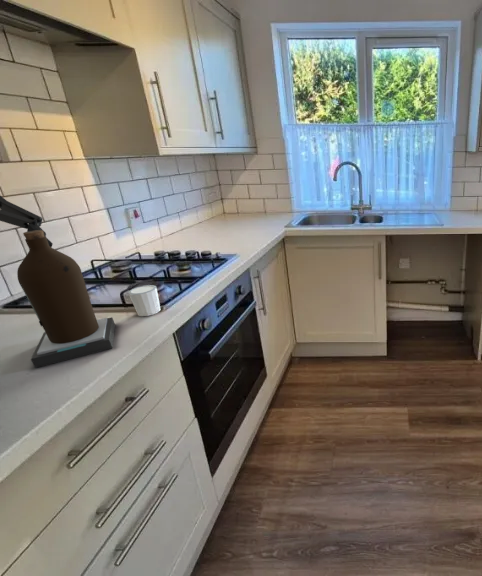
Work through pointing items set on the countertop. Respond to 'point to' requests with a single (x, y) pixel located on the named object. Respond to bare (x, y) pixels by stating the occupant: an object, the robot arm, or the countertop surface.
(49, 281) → the olive oil
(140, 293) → the white faceted cylinder
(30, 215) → the robot arm
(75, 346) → the scale
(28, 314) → the countertop surface
